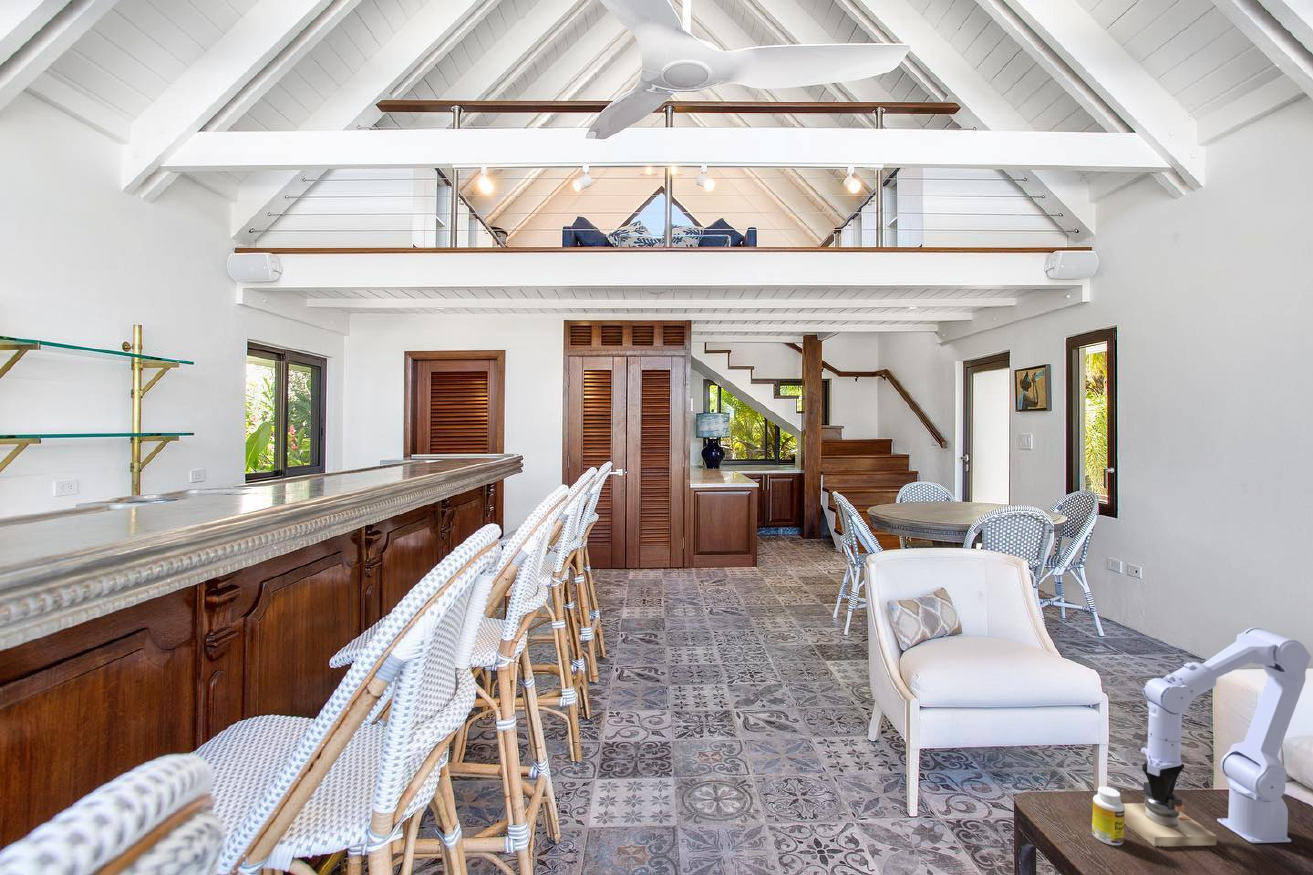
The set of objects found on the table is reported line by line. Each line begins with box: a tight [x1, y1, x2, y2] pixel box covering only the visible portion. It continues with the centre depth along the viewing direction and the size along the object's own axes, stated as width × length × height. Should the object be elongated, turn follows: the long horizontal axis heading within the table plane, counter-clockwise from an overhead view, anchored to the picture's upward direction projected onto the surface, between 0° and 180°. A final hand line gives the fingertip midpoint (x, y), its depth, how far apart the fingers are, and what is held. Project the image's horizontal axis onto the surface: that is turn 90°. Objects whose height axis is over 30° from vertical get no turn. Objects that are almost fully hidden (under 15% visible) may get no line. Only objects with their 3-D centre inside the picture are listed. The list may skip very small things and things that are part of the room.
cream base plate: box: [1123, 802, 1218, 848], centre depth 141 cm, size 14×12×4 cm
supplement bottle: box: [1091, 786, 1125, 846], centre depth 137 cm, size 6×6×10 cm
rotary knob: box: [1142, 781, 1186, 817], centre depth 140 cm, size 6×8×4 cm
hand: (1162, 797), depth 141 cm, fingers closed on rotary knob, 4 cm apart
